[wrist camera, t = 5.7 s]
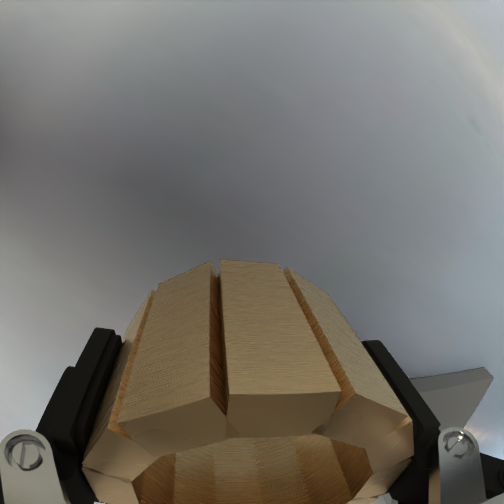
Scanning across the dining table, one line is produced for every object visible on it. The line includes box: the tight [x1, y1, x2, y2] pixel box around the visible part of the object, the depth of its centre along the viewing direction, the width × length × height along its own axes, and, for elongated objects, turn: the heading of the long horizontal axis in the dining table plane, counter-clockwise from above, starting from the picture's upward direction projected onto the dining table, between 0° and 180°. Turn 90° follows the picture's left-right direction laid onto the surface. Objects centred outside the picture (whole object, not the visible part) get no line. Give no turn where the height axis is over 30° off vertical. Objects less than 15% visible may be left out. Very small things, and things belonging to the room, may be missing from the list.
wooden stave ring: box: [82, 259, 414, 504], centre depth 8 cm, size 7×7×5 cm
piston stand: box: [370, 367, 494, 504], centre depth 18 cm, size 19×19×8 cm
